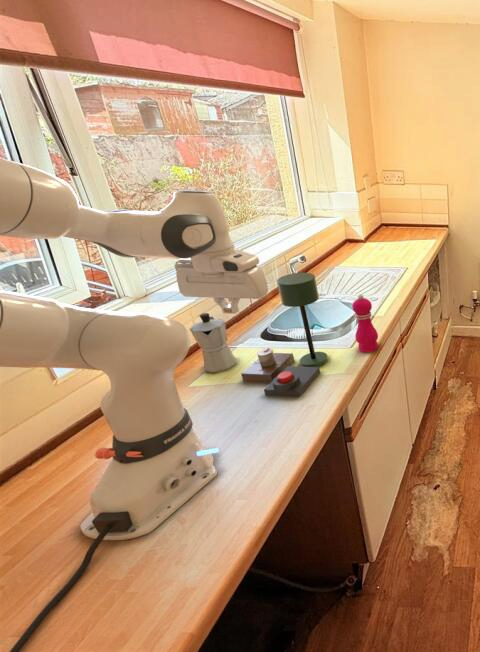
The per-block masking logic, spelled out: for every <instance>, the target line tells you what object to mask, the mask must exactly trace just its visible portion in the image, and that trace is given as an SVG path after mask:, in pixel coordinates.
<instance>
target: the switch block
mask: <svg viewBox="0 0 480 652" xmlns="http://www.w3.org/2000/svg"><path fill="white" fill-rule="evenodd" d="M285 371H290V372H291V373H292V376H293V379H292V380H291V381H289V382H286V383H279V380H278V376H277V377H276V378H274V379H273V381H272V382H271V383H268V384H267V386H266V387H264V389H263V391H264V395H265V396H266V397H283V398H284V397H286V398H288V397H289V398H301V397H302V396H303V394H304V393H306V391H307V390H308V389H309V387H311V385H312V384H313V383H314V382H315V380H317V378H318V377H319V376H320V375H321V368H320V367H301V366H295V365H294V366H293V365H291V366H287V367H286V368H285V369H284V370H283V371H282V372H285ZM282 372H281V373H282Z"/></svg>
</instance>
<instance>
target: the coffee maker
mask: <svg viewBox="0 0 480 652" xmlns="http://www.w3.org/2000/svg"><path fill="white" fill-rule="evenodd" d="M199 319H201V321H199V322H196V323H194V324H193V325H192V326H191V327H190V328H189V330H190V332H191V334H192V336H193V338H194V340H195V341H196V343H197V345H198V347H199V348H201V349H202V358H203V366H204V371H205V373H210V374H211V373H212V374H216V373H217V374H218V373H220V372H225V371H228V370H230V369H231V368H232V367H235V366H236V365H237V359H236V356H235V355H234V354H233V352H232V350H231V348H230V347H229V344H228V342H227V341H228V335H227V334H228V333H227V327H226V320H223V319H221V318H214V317H213V316H210V313H208V312H204V313H201V314H200V315H199Z"/></svg>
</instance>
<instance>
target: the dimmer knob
mask: <svg viewBox="0 0 480 652" xmlns="http://www.w3.org/2000/svg"><path fill="white" fill-rule="evenodd" d="M273 353H274V351H273V349H272V348H270V347H266V348H263V349H260V350H259V351H257V352H256V354H257V357H258V358H257V359H259V361H260V365H261V366H270V365H272V364H274V363H275V358H274V354H273Z"/></svg>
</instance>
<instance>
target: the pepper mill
mask: <svg viewBox="0 0 480 652" xmlns="http://www.w3.org/2000/svg"><path fill="white" fill-rule="evenodd" d="M351 305H352V310H353V312H354V313H355V314H354V315H355V319H357V328H356V331H355V342H356V343H357V344H358V345H357V346H358V351H360V352H361V353H367V354H368V353H371V352H374V351H376V350H377V349H378V347H379V343H378V339H379V334H378V331H377V329H376V328H375V326H374V325H373V323H372V319H371V317H372V308H373V305H372V302H371V301H370V299H368V298H366V297H365V298H364V295H363V294H358V295H357V299H355V300H354V301H353V302H352V304H351Z"/></svg>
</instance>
